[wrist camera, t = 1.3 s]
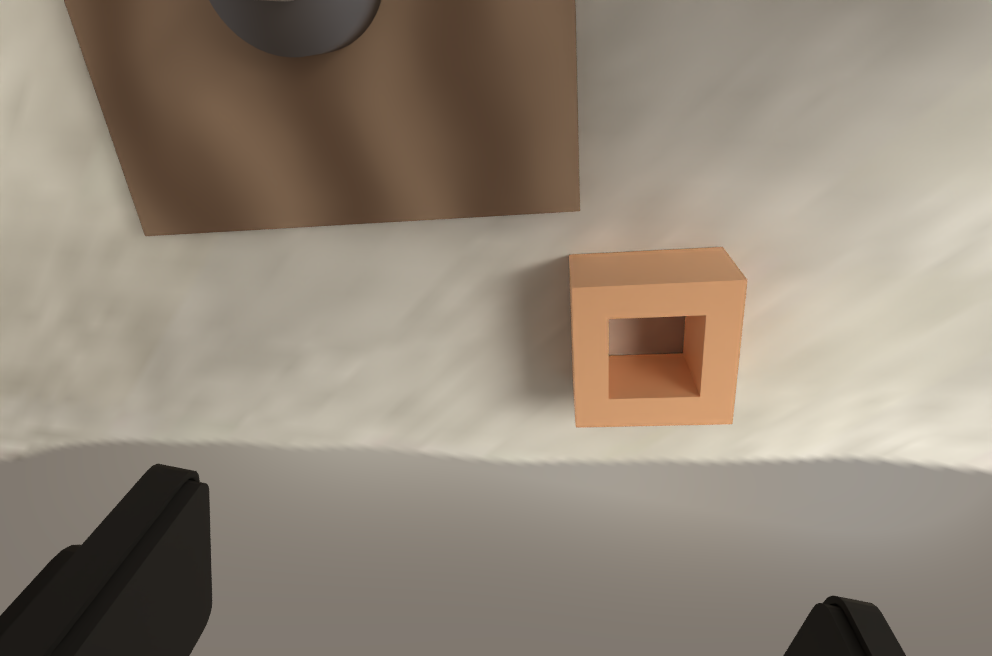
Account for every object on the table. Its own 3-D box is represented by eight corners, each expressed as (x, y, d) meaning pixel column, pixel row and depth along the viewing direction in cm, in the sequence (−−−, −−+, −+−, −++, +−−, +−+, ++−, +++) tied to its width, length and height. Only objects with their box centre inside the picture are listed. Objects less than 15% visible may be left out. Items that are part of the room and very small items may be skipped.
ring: (722, 247, 28) (747, 279, 25) (711, 378, 32) (732, 424, 28) (568, 254, 29) (571, 288, 26) (572, 382, 32) (575, 427, 29)
